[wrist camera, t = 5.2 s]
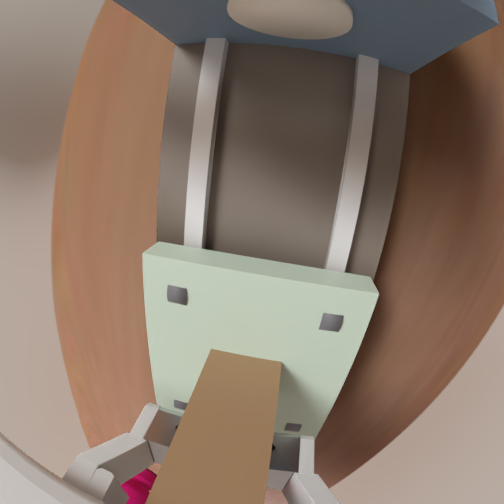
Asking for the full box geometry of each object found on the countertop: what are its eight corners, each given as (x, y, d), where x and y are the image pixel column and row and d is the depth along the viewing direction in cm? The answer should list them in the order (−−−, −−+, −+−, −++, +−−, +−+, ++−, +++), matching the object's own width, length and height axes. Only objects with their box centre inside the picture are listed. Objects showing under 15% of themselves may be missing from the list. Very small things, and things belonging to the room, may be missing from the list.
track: (187, 54, 11) (170, 40, 9) (398, 81, 10) (415, 70, 8) (172, 382, 18) (162, 402, 16) (315, 409, 17) (315, 432, 15)
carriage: (158, 241, 12) (-18, 389, 3) (370, 276, 11) (458, 500, 2) (167, 395, 15) (104, 522, 7) (312, 424, 15) (305, 567, 6)
